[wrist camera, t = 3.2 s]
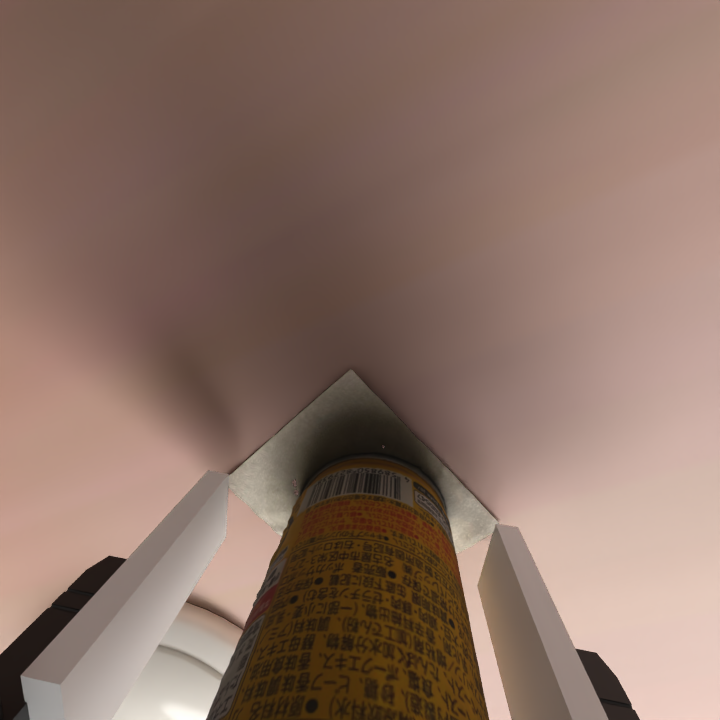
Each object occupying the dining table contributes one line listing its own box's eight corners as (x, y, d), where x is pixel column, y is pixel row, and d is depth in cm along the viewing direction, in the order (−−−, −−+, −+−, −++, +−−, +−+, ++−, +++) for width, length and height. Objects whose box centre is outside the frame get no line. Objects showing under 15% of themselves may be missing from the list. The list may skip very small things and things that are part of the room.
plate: (27, 568, 17) (-3, 592, 16) (315, 628, 16) (308, 659, 15) (54, 759, 21) (32, 791, 19) (289, 815, 20) (282, 852, 18)
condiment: (364, 609, 16) (275, 1602, 4) (224, 479, 14) (-445, 1313, 3) (500, 522, 14) (1048, 1854, 2) (352, 365, 13) (-79, 1360, 1)
